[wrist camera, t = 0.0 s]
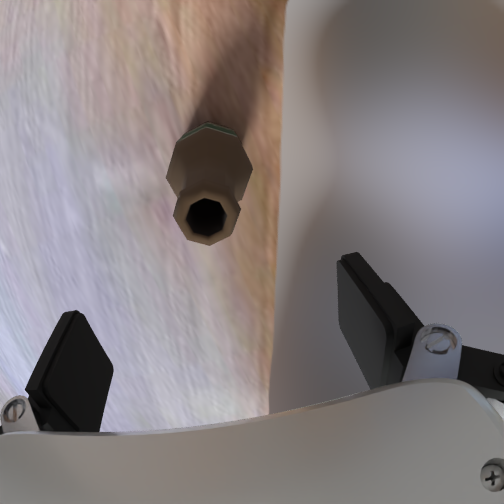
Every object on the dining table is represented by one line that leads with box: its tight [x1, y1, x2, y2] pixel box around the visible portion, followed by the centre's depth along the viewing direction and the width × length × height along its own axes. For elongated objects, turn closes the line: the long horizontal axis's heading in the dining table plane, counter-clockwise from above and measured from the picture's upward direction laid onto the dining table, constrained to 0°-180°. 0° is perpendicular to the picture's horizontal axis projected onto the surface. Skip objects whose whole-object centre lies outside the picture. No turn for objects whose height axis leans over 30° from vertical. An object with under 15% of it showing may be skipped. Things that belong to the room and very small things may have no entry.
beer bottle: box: [166, 122, 253, 246], centre depth 28 cm, size 8×8×24 cm
